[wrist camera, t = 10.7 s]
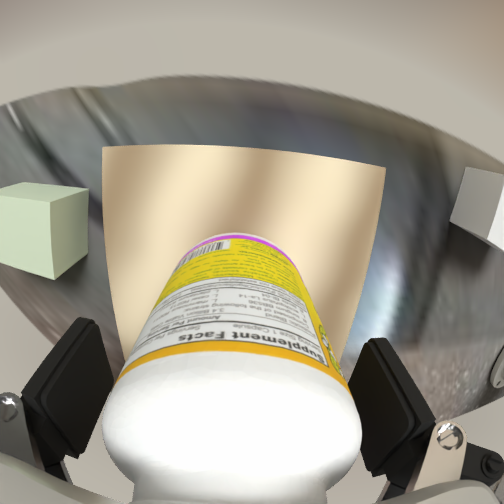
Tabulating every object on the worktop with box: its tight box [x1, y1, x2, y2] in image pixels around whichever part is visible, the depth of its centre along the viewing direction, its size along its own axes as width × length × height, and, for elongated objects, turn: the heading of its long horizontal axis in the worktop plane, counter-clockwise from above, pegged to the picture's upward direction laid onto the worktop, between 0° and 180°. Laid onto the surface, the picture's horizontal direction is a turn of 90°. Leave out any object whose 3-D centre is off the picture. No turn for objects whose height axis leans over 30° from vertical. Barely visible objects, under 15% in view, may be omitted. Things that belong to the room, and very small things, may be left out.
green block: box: [0, 182, 89, 280], centre depth 12 cm, size 6×4×4 cm, turn 79°
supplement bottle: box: [102, 233, 362, 504], centre depth 8 cm, size 7×7×13 cm
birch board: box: [102, 145, 386, 363], centre depth 15 cm, size 14×14×2 cm
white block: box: [449, 167, 504, 253], centre depth 13 cm, size 6×4×4 cm, turn 73°
